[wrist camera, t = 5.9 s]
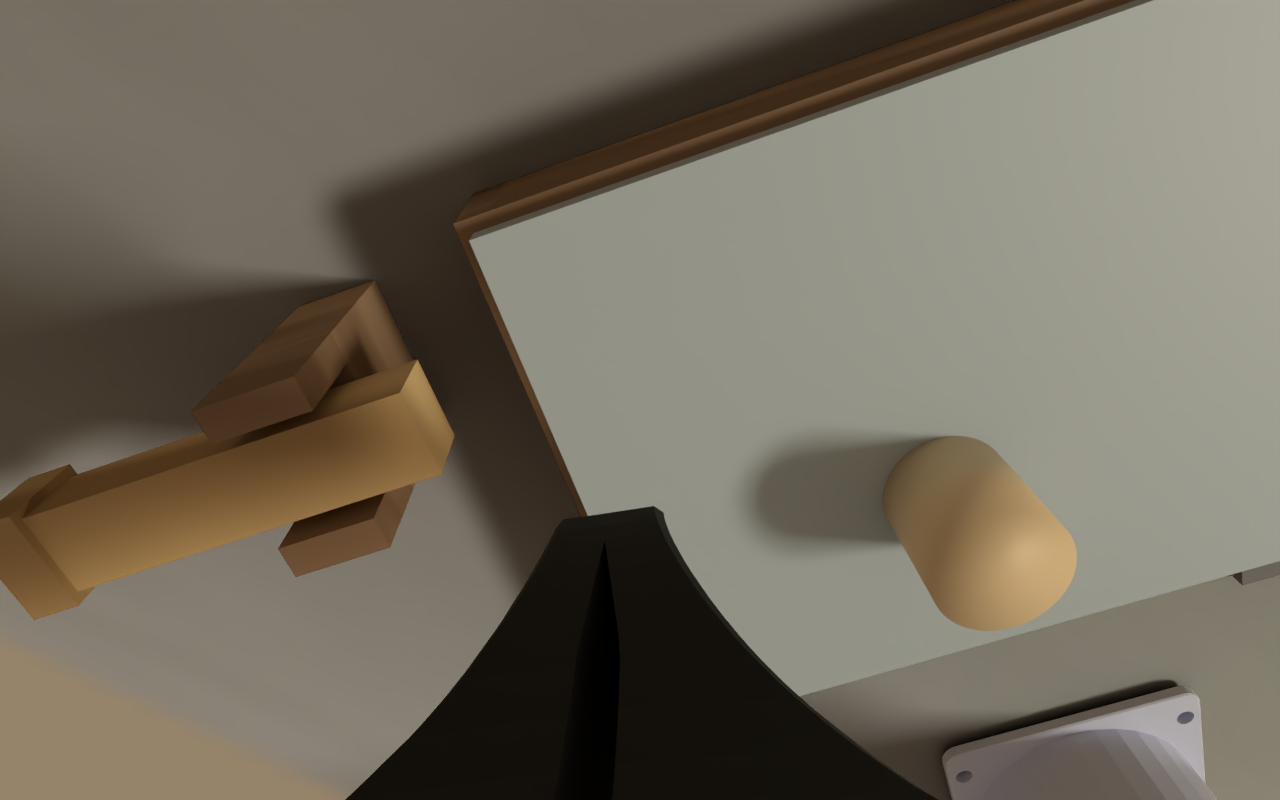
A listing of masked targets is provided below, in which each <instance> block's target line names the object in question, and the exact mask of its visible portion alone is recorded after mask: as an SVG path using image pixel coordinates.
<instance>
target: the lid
mask: <svg viewBox="0 0 1280 800" xmlns="http://www.w3.org/2000/svg"><path fill="white" fill-rule="evenodd" d="M469 242H470V244H471V247H472V249H473V251H474V253H475V256H476V258H477V260H478V263H479V265H480V267H481V270H482V272H483V274H484V277H485V279H486V281H487V284H488V286H489V288H490V290H491V293H492V295H493V297H494V300H495V302H496V304H497V307H498V309H499V311H500V314H501V316H502V318H503V321H504V323H505V325H506V328H507V330H508V332H509V334H510V337H511V339H512V341H513V344H514V346H515V348H516V351H517V353H518V355H519V358H520V360H521V362H522V365H523V367H524V369H525V372H526V374H527V376H528V378H529V381H530V383H531V385H532V388H533V390H534V392H535V395H536V397H537V399H538V402H539V404H540V406H541V409H542V411H543V413H544V416H545V418H546V420H547V422H548V425H549V427H550V429H551V432H552V434H553V436H554V439H555V441H556V443H557V446H558V448H559V450H560V453H561V455H562V457H563V459H564V462H565V464H566V466H567V469H568V471H569V473H570V476H571V478H572V480H573V483H574V485H575V487H576V490H577V492H578V494H579V497H580V499H581V501H582V503H583V506H584V508H585V510H586V513H587V515H588V516H591V515H598V514H604V513H611V512H618V511H624V510H631V509H638V508H644V507H651V506H655V507H656V508H658V509H659V510H661V511H662V512H663V513H664V518H665V522H666V525H667V527H668V530H669V532H670V535H671V537H672V539H673V541H674V543H675V545H676V546H677V548H678V550H679V552H680V554H681V555H682V557H683V559H684V561H685V562H686V564H687V566H688V567H689V569H690V570H691V572H692V573H693V575H694V576H695V578H696V579H697V581H698V582H699V584H700V585H701V586H702V588H703V589H704V591H705V592H706V594H707V595H708V597H709V598H710V599H711V601H712V602H713V603H714V605H715V606H716V607H717V609H718V610H719V611H720V612H721V614H722V615H723V616H724V617H725V619H726V620H727V621H728V622H729V623H730V625H731V626H732V627H733V628H734V630H735V631H736V632H737V633H738V634H739V636H740V637H741V638H742V639H743V640H744V641H745V642H746V643H747V645H748V646H749V647H750V648H751V649H752V650H753V651H754V652H755V653H756V654H757V656H758V657H759V658H760V659H761V660H762V661H763V662H764V663H765V664H766V665H767V666H768V667H769V668H770V669H771V670H772V671H773V672H774V673H775V674H776V675H777V676H778V677H779V678H780V679H781V680H782V681H783V682H784V683H785V684H786V685H787V686H789V687H790V688H791V689H792V690H793V691H794V692H795V693H796V694H797V695H798V696H802V695H806V694H809V693H813V692H816V691H820V690H824V689H827V688H831V687H834V686H838V685H841V684H845V683H848V682H852V681H856V680H859V679H863V678H866V677H870V676H873V675H877V674H880V673H884V672H887V671H891V670H895V669H898V668H902V667H905V666H909V665H912V664H916V663H919V662H923V661H927V660H930V659H934V658H937V657H941V656H944V655H948V654H951V653H955V652H958V651H962V650H966V649H969V648H973V647H976V646H980V645H983V644H987V643H990V642H994V641H997V640H1001V639H1005V638H1008V637H1012V636H1015V635H1019V634H1022V633H1026V632H1029V631H1033V630H1037V629H1040V628H1044V627H1047V626H1051V625H1054V624H1058V623H1061V622H1065V621H1068V620H1072V619H1076V618H1079V617H1083V616H1086V615H1090V614H1093V613H1097V612H1100V611H1104V610H1108V609H1111V608H1115V607H1118V606H1122V605H1125V604H1129V603H1132V602H1136V601H1139V600H1143V599H1147V598H1150V597H1154V596H1157V595H1161V594H1164V593H1168V592H1171V591H1175V590H1179V589H1182V588H1186V587H1189V586H1193V585H1196V584H1200V583H1203V582H1207V581H1210V580H1214V579H1218V578H1221V577H1225V576H1228V575H1232V574H1235V573H1239V572H1242V571H1246V570H1249V569H1253V568H1257V567H1260V566H1264V565H1267V564H1271V563H1274V562H1278V561H1280V0H1135V1H1132V2H1129V3H1126V4H1123V5H1120V6H1118V7H1115V8H1112V9H1109V10H1106V11H1103V12H1101V13H1098V14H1095V15H1092V16H1089V17H1086V18H1083V19H1081V20H1078V21H1075V22H1072V23H1069V24H1066V25H1064V26H1061V27H1058V28H1055V29H1052V30H1049V31H1047V32H1044V33H1041V34H1038V35H1035V36H1032V37H1029V38H1027V39H1024V40H1021V41H1018V42H1015V43H1012V44H1010V45H1007V46H1004V47H1001V48H998V49H995V50H993V51H990V52H987V53H984V54H981V55H978V56H975V57H973V58H970V59H967V60H964V61H961V62H958V63H956V64H953V65H950V66H947V67H944V68H941V69H938V70H936V71H933V72H930V73H927V74H924V75H921V76H919V77H916V78H913V79H910V80H907V81H904V82H902V83H899V84H896V85H893V86H890V87H887V88H884V89H882V90H879V91H876V92H873V93H870V94H867V95H865V96H862V97H859V98H856V99H853V100H850V101H848V102H845V103H842V104H839V105H836V106H833V107H830V108H828V109H825V110H822V111H819V112H816V113H813V114H811V115H808V116H805V117H802V118H799V119H796V120H794V121H791V122H788V123H785V124H782V125H779V126H776V127H774V128H771V129H768V130H765V131H762V132H759V133H757V134H754V135H751V136H748V137H745V138H742V139H740V140H737V141H734V142H731V143H728V144H725V145H722V146H720V147H717V148H714V149H711V150H708V151H705V152H703V153H700V154H697V155H694V156H691V157H688V158H685V159H683V160H680V161H677V162H674V163H671V164H668V165H666V166H663V167H660V168H657V169H654V170H651V171H649V172H646V173H643V174H640V175H637V176H634V177H631V178H629V179H626V180H623V181H620V182H617V183H614V184H612V185H609V186H606V187H603V188H600V189H597V190H595V191H592V192H589V193H586V194H583V195H580V196H577V197H575V198H572V199H569V200H566V201H563V202H560V203H558V204H555V205H552V206H549V207H546V208H543V209H541V210H538V211H535V212H532V213H529V214H526V215H523V216H521V217H518V218H515V219H512V220H509V221H506V222H504V223H501V224H498V225H495V226H492V227H489V228H487V229H484V230H481V231H478V232H475V233H473V235H472V236H471V238H470V240H469Z"/></svg>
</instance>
